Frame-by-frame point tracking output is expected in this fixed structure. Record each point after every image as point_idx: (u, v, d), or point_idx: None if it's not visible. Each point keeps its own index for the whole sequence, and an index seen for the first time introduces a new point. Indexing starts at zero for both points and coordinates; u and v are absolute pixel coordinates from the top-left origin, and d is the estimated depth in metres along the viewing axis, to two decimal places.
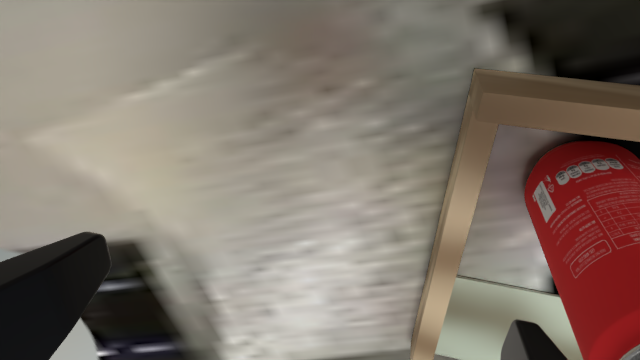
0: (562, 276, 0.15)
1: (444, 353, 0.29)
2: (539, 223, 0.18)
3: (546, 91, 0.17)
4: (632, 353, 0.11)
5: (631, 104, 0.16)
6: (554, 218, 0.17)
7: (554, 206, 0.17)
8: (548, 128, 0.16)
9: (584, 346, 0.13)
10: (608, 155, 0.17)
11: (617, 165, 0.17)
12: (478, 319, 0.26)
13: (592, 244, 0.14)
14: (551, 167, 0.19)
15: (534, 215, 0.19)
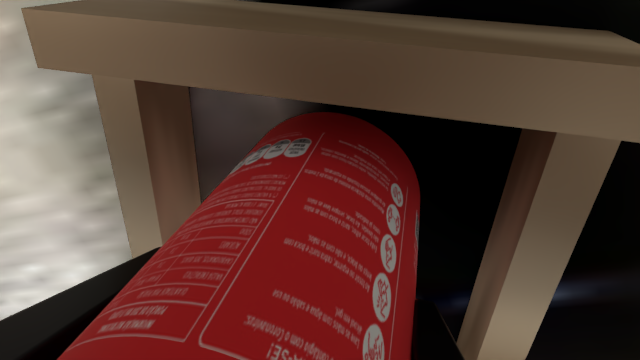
0: None
1: None
2: None
3: (165, 12, 0.09)
4: None
5: (289, 27, 0.08)
6: None
7: None
8: (149, 78, 0.08)
9: None
10: (308, 134, 0.10)
11: (299, 149, 0.09)
12: None
13: None
14: None
15: None
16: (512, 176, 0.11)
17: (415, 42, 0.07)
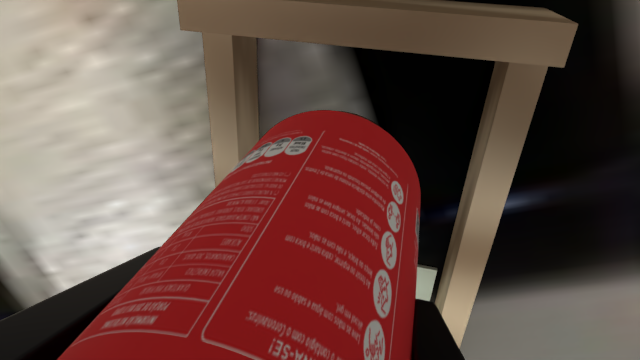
0: None
1: None
2: None
3: None
4: None
5: (343, 2, 0.13)
6: None
7: None
8: (255, 35, 0.14)
9: None
10: (308, 132, 0.10)
11: (300, 147, 0.09)
12: None
13: None
14: None
15: None
16: (485, 109, 0.17)
17: (420, 10, 0.12)
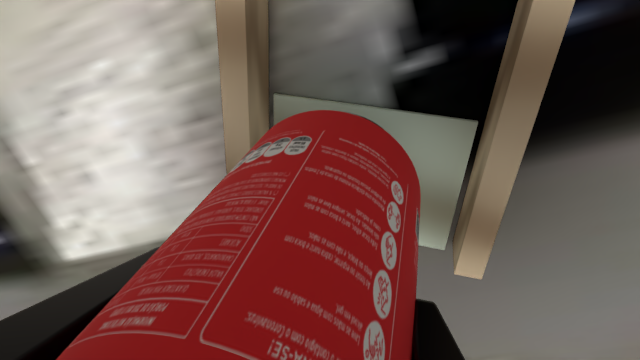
0: None
1: None
2: None
3: None
4: None
5: None
6: None
7: None
8: None
9: None
10: (308, 132, 0.10)
11: (299, 147, 0.09)
12: None
13: None
14: None
15: None
16: None
17: None
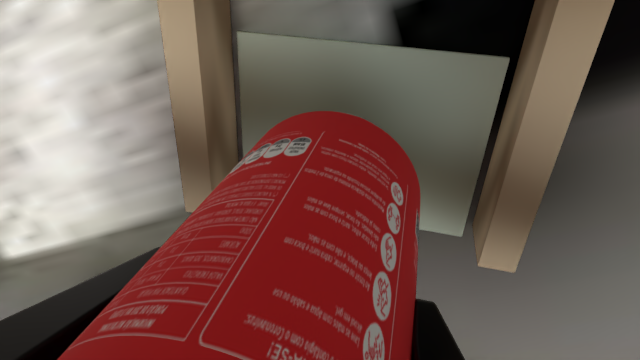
0: None
1: None
2: None
3: None
4: None
5: None
6: None
7: None
8: None
9: None
10: (308, 133, 0.10)
11: (299, 148, 0.09)
12: None
13: None
14: None
15: None
16: None
17: None
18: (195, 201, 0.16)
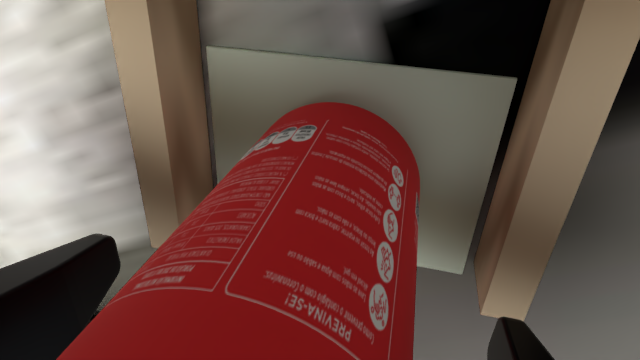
0: None
1: None
2: None
3: None
4: None
5: None
6: None
7: None
8: None
9: None
10: (313, 121, 0.10)
11: (305, 135, 0.10)
12: None
13: None
14: None
15: None
16: None
17: None
18: (161, 236, 0.14)
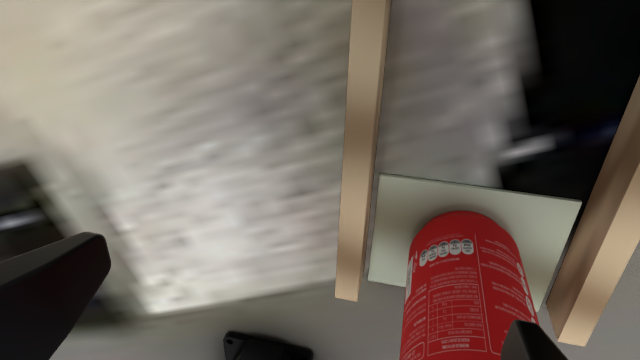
0: None
1: (382, 280, 0.24)
2: None
3: None
4: None
5: None
6: (407, 303, 0.17)
7: (410, 289, 0.17)
8: None
9: None
10: (467, 235, 0.18)
11: (469, 248, 0.17)
12: (416, 231, 0.22)
13: (415, 345, 0.14)
14: (421, 242, 0.19)
15: None
16: None
17: None
18: (344, 291, 0.22)
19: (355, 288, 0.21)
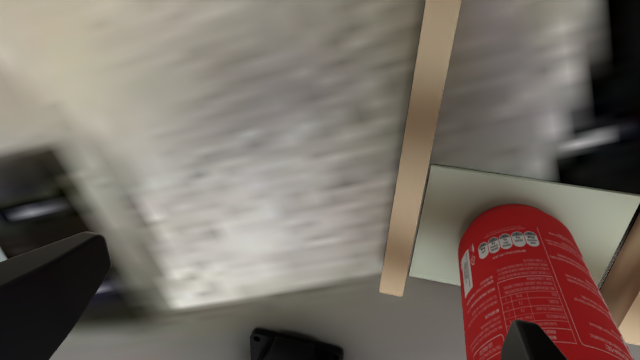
0: None
1: (424, 275, 0.23)
2: (462, 295, 0.18)
3: None
4: None
5: None
6: (470, 296, 0.16)
7: (472, 282, 0.17)
8: None
9: None
10: (528, 228, 0.17)
11: (534, 240, 0.17)
12: (464, 225, 0.21)
13: (492, 338, 0.14)
14: (477, 235, 0.19)
15: None
16: None
17: None
18: (389, 285, 0.21)
19: (402, 282, 0.21)
